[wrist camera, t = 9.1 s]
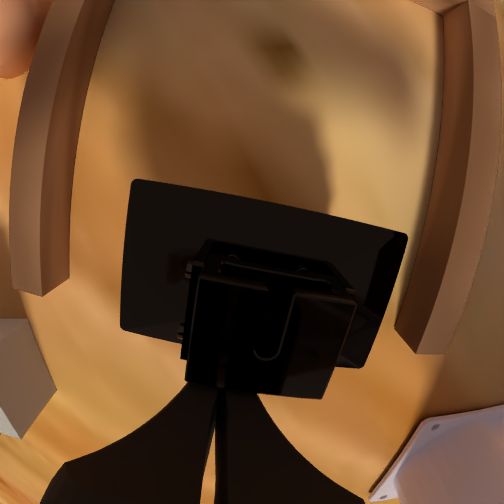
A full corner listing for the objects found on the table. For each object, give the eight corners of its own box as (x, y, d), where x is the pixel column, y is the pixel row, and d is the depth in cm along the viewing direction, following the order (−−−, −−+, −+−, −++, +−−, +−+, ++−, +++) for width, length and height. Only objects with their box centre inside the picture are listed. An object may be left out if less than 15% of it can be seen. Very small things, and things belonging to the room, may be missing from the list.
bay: (467, 7, 8) (491, -7, 6) (422, 330, 12) (445, 354, 10) (112, -59, 7) (97, -82, 5) (40, 271, 11) (12, 287, 9)
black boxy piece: (429, 223, 11) (507, 253, 7) (374, 377, 13) (413, 447, 8) (110, 157, 10) (35, 154, 6) (98, 334, 12) (48, 400, 7)
